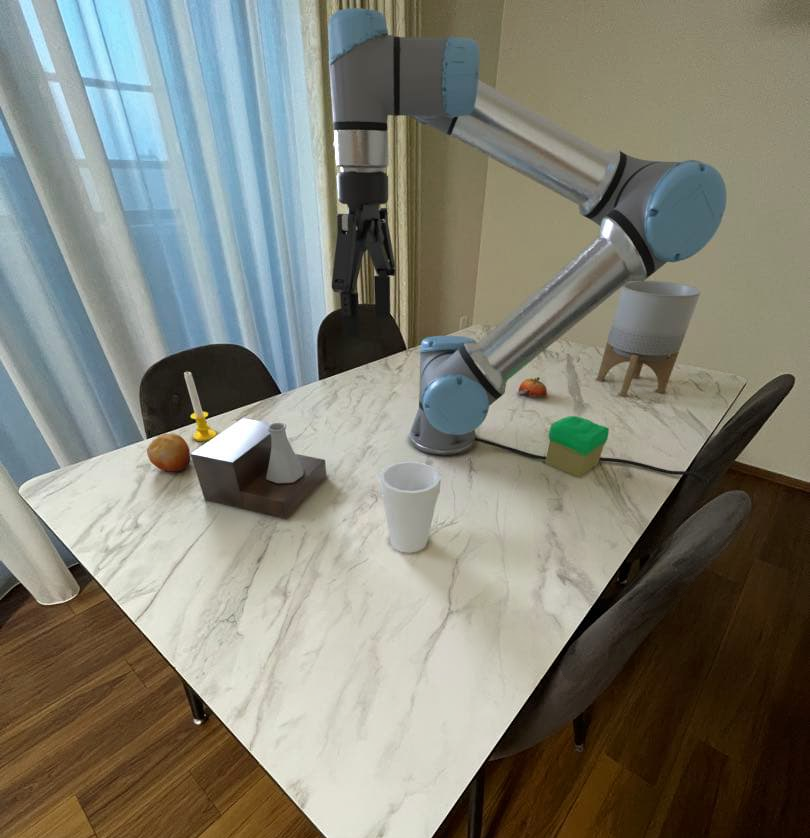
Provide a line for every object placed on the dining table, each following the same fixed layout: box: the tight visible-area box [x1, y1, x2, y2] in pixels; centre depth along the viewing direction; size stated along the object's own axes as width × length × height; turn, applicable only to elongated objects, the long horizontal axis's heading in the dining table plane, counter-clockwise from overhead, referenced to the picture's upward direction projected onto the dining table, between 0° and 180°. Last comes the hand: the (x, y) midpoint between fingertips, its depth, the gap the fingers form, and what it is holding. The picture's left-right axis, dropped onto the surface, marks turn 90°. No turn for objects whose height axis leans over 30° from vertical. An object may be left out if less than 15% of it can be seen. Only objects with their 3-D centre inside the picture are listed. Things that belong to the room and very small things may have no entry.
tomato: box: [518, 376, 548, 398], centre depth 131 cm, size 8×7×7 cm
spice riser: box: [190, 417, 328, 520], centre depth 91 cm, size 18×16×10 cm
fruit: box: [146, 433, 192, 472], centre depth 98 cm, size 8×8×8 cm
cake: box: [544, 415, 610, 478], centre depth 100 cm, size 10×11×10 cm
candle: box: [183, 371, 218, 442], centre depth 106 cm, size 5×5×16 cm
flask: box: [266, 422, 304, 483], centre depth 87 cm, size 7×7×10 cm
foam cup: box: [379, 460, 442, 554], centre depth 77 cm, size 10×9×13 cm
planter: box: [596, 280, 702, 398], centre depth 130 cm, size 19×19×26 cm
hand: (368, 326), depth 82 cm, fingers open, 13 cm apart
